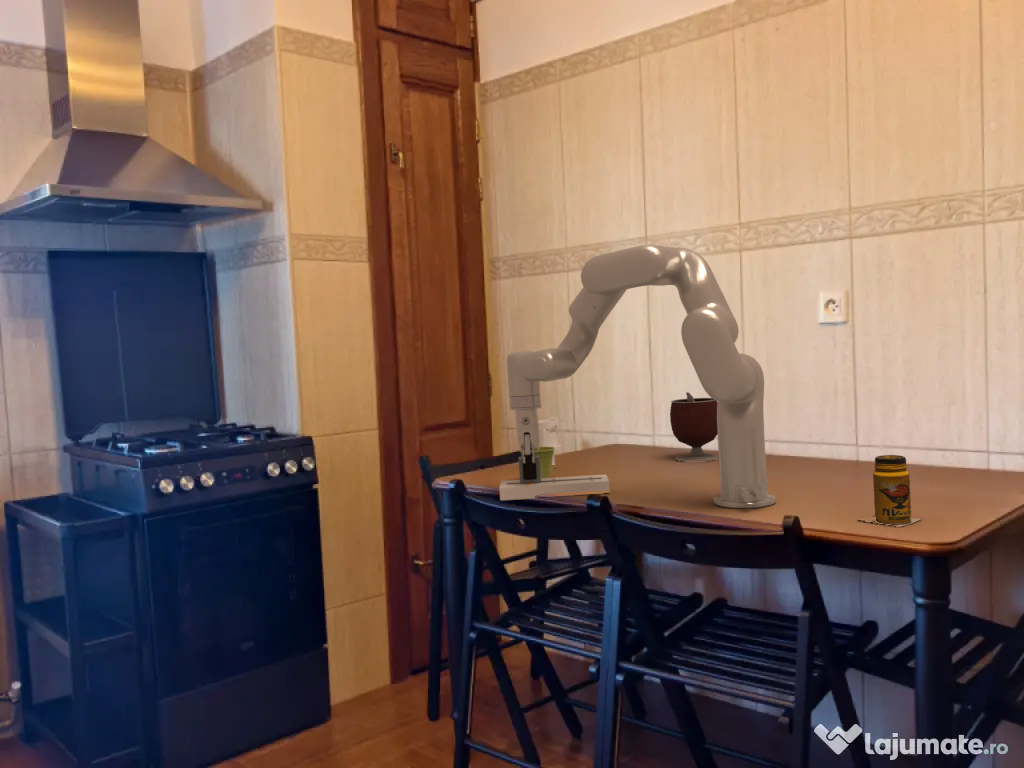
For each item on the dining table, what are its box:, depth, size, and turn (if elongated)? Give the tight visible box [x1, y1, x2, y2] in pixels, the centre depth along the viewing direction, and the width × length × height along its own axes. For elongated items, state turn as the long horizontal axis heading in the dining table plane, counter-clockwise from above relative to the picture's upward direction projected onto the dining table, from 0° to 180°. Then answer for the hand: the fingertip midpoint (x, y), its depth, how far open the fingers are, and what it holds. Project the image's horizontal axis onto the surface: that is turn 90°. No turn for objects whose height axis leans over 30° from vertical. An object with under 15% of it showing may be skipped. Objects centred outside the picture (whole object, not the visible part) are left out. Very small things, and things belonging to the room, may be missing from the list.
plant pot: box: [518, 447, 555, 478], centre depth 224 cm, size 9×9×9 cm
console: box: [499, 473, 611, 501], centre depth 205 cm, size 10×26×3 cm, turn 88°
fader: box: [518, 456, 541, 483], centre depth 205 cm, size 3×5×6 cm, turn 88°
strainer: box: [538, 416, 562, 466], centre depth 244 cm, size 7×7×15 cm
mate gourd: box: [669, 392, 719, 462], centre depth 242 cm, size 16×14×20 cm
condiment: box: [862, 454, 922, 528], centre depth 155 cm, size 7×8×12 cm
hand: (530, 477), depth 205 cm, fingers closed on fader, 3 cm apart
